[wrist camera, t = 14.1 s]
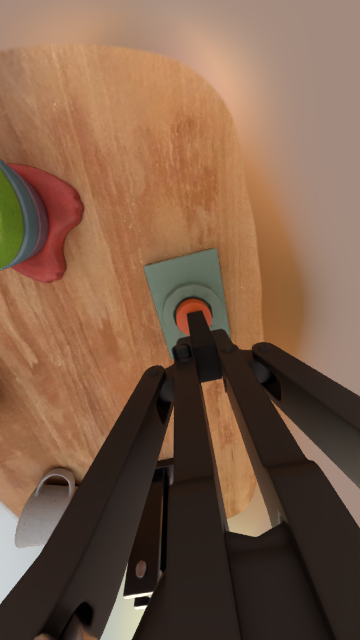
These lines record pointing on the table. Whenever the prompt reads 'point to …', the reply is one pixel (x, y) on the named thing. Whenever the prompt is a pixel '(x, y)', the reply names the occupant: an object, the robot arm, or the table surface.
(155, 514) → the bracket
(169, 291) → the control block
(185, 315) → the button
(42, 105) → the table surface
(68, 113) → the table surface
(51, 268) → the stacking bear
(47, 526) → the ceramic mug
